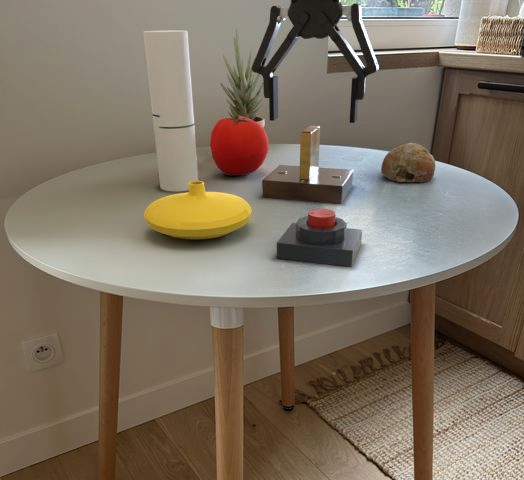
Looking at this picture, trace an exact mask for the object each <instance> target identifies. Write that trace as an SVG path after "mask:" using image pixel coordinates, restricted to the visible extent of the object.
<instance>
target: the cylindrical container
mask: <svg viewBox="0 0 524 480" xmlns="http://www.w3.org/2000/svg"><path fill="white" fill-rule="evenodd" d="M142 34H143V44H144V52H145V60H146V61H145V62H146V71H147V78H148V79H147V80H148V87H149V88H148V89H149V96H150V105H151V107H150V108H151V114H152V124H153V133H154V142H155V150H156V161H157V170H158V178H159V186H160V189H161V190H163V191H167V192H176V193H177V192H189V182H192V181H199V168H198V155H197V154H198V153H197V142H196V129H195V127H196V125H195V114H194V100H193V88H192V87H193V86H192V76H191V75H192V74H191V61H190V46H189V33H188V30H181V29H180V30H179V29H177V30H176V29H174V30H172V29H171V30H168V29H167V30H165V29H164V30H145V31H142Z"/></svg>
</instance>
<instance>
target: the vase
mask: <svg viewBox="0 0 524 480" xmlns="http://www.w3.org/2000/svg"><path fill="white" fill-rule="evenodd" d="M252 211H253V209H252V207H251V205H250V204H249V203H248V201H246V200H245V199H244V198H242V197H240V196H238V195H235V194H231V193H227V192H219V191H206V188H205V181H202V180H198V181H192V182H189V190H188V191H186V192H180V193H175V194H169V195H166V196H163V197H160V198H158V199H155V200H154V201H152V202H150V204H149V205H148V206H147V208H146V209H145V211H144V214H143V217H144V219H145V222H146V223H147V225H148V227H149V228H150V229H151V230H153V231H156V232H158V233H161V234H163V235H166V236H170V237H173V238H176V239H182V240H195V241H196V240H208V239H215V238H220V237H223V236H226V235H228V234H231V233H232V232H234V231H237V230H238V229H241V228H243V227H244V226H245V225H247V224H248V223H249V221H250V219H251V214H252Z"/></svg>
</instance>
